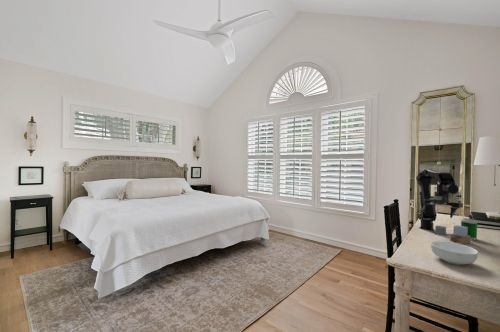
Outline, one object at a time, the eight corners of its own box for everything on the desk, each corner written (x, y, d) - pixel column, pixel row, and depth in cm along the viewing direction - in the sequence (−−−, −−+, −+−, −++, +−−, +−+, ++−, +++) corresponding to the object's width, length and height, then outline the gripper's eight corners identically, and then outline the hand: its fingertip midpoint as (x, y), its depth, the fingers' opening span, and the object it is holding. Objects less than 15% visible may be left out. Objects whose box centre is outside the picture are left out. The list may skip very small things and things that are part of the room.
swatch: (443, 236, 154) (443, 235, 154) (447, 235, 156) (447, 234, 156) (453, 238, 150) (453, 238, 150) (456, 237, 152) (456, 237, 152)
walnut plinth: (450, 240, 146) (450, 234, 146) (455, 239, 149) (455, 232, 149) (465, 244, 140) (465, 237, 140) (470, 242, 143) (470, 235, 143)
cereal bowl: (427, 260, 114) (428, 245, 114) (433, 252, 126) (434, 238, 126) (476, 273, 102) (477, 256, 102) (478, 262, 114) (478, 247, 114)
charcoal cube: (435, 234, 159) (435, 226, 159) (436, 232, 163) (436, 225, 163) (444, 235, 156) (444, 228, 156) (445, 234, 159) (446, 226, 159)
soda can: (477, 241, 146) (478, 221, 146) (461, 238, 150) (461, 219, 150) (475, 238, 152) (476, 219, 152) (460, 235, 156) (460, 217, 156)
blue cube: (453, 234, 145) (453, 226, 145) (457, 233, 148) (457, 225, 148) (463, 236, 141) (464, 228, 141) (467, 235, 143) (467, 227, 143)
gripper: (420, 190, 157) (419, 214, 158) (455, 194, 141) (454, 220, 141) (429, 190, 163) (428, 213, 163) (463, 193, 146) (462, 219, 147)
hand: (442, 216), depth 153 cm, fingers open, 9 cm apart
